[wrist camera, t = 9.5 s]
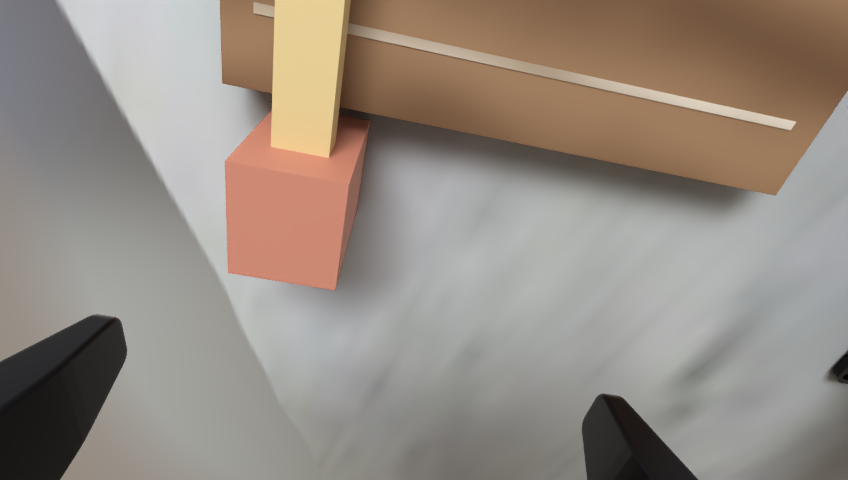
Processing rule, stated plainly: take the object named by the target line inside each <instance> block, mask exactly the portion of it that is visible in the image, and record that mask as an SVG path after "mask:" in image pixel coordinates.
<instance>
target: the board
mask: <svg viewBox="0 0 848 480" xmlns="http://www.w3.org/2000/svg"><path fill="white" fill-rule="evenodd" d="M274 15H275V0H220V19H221V54H222V83H223V84H228V85H233V86H238V87H243V88H248V89H253V90H258V91H263V92H267V93H272V85H273V50H274ZM847 91H848V0H351V3H350V12H349V22H348V31H347V40H346V50H345V59H344V69H343V78H342V87H341V97H340V106H339V107H341V108H346V109H351V110H356V111H361V112H366V113H371V114H376V115H381V116H386V117H391V118H396V119H401V120H406V121H411V122H416V123H420V124H425V125H430V126H435V127H440V128H445V129H450V130H455V131H460V132H465V133H470V134H475V135H480V136H485V137H490V138H494V139H499V140H504V141H509V142H514V143H519V144H524V145H529V146H534V147H539V148H544V149H549V150H554V151H559V152H564V153H569V154H573V155H578V156H583V157H588V158H593V159H598V160H603V161H608V162H613V163H618V164H623V165H628V166H633V167H638V168H643V169H647V170H652V171H657V172H662V173H667V174H672V175H677V176H682V177H687V178H692V179H697V180H702V181H707V182H712V183H717V184H721V185H726V186H731V187H736V188H741V189H746V190H751V191H756V192H761V193H766V194H771V195H776V194H777V192H778V191H779V189H780V188H781V187H782V185H783V184H784V182H785V181H786V179H787V178H788V176H789V175H790V173H791V172H792V171H793V169H794V168H795V166H796V165H797V163H798V162H799V160H800V159H801V157H802V156H803V155H804V153H805V152H806V150H807V149H808V147H809V146H810V144H811V143H812V141H813V140H814V139H815V137H816V136H817V134H818V133H819V131H820V130H821V128H822V127H823V125H824V124H825V123H826V121H827V120H828V118H829V117H830V115H831V114H832V112H833V111H834V109H835V108H836V107H837V105H838V104H839V102H840V101H841V99H842V98H843V96H844V95H845V93H846V92H847Z"/></svg>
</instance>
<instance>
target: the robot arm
mask: <svg viewBox="0 0 848 480" xmlns="http://www.w3.org/2000/svg"><path fill="white" fill-rule="evenodd" d="M126 355H127V346H126V342H125V337H124V332H123V327H122V323H121V321H120V320H119V319H118V318H116V317H111V316H105V315H97V314H96V315H92V316H89V317H87V318H85V319H83V320H81V321H79V322H77V323H75V324H73V325H71V326H69V327H67V328H65V329H63V330H61V331H59V332H57V333H55V334H53V335H52V336H50V337H48V338H46V339H44V340H42V341H40V342H38V343H36V344H34V345H32V346H30V347H28V348H26V349H24V350H22V351H20V352H18V353H16V354H14V355H12V356H10V357H8V358H6V359H4V360H2V361H1V362H0V480H60V479H61V478H62V476H63V474H64V473H65V471H66V470H67V468H68V467H69V465H70V463H71V462H72V460H73V459H74V457H75V455H76V454H77V452H78V451H79V449H80V448H81V446H82V444H83V443H84V441H85V439H86V437H87V435H88V433H89V432H90V430H91V428H92V426H93V424H94V422H95V420H96V418H97V416H98V414H99V412H100V410H101V408H102V406H103V404H104V402H105V400H106V398H107V396H108V394H109V392H110V390H111V388H112V386H113V384H114V382H115V380H116V378H117V376H118V374H119V372H120V370H121V368H122V366H123V364H124V362H125V359H126ZM832 374H833V376H834V377H835V378H836V379H837V380H838V381H839V382H841V383H846V384H848V356H847V357H846V358H845V359H844V360H843V361H842V362H841V363H840V364H839V365H838V366H837V367H836V368H835V369H834V370H833V372H832ZM582 435H583V444H584V453H585V463H586V472H587V480H698V479H697V478H696V477H695V476H694V475H693V473H692V472H691V471H690V470H689V469H688V468H687V467H686V466H685V465H684V464H683V463H682V461H681V460H680V459H679V458H678V457H677V456H676V455H675V454H674V453H673V452H672V451H671V449H670V448H669V447H668V446H667V445H666V444H665V443H664V442H663V441H662V440H661V439H660V438H659V436H658V435H657V434H656V433H655V432H654V431H653V430H652V429H651V428H650V427H649V426H648V424H647V423H646V422H645V421H644V420H643V419H642V418H641V417H640V416H639V415H638V414H637V412H636V411H635V410H634V409H633V408H632V407H631V406H630V405H629V404H628V403H627V402H626V400H624V399H623V398H622V397H620V396H617V395H610V394H604V393H603V394H600V395H598V396H597V397H596V399H595V401H594V402H593V404H592V406H591V407H590V409H589V411H588V412H587V414H586V416H585V417H584V420H583V424H582Z"/></svg>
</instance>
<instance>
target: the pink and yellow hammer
mask: <svg viewBox="0 0 848 480" xmlns="http://www.w3.org/2000/svg"><path fill="white" fill-rule="evenodd" d="M350 3H351V0H275V15H274V50H273V85H272V110H271V111H270V112H269V113H268V114H267V115H266V116H265V118H264V119H263V120H262V121H261V122H260V123H259V124H258V125H257V126H256V127H255V129H254V130H253V131H252V132H251V133H250V134H249V135H248V136H247V137H246V138H245V140H244V141H243V142H242V143H241V144H240V145H239V146H238V147H237V148H236V150H235V151H234V152H233V153H232V154H231V155H230V156H229V157H228V158H227V159H226V161H225V181H226V217H227V253H228V273H232V274H238V275H244V276H250V277H256V278H262V279H268V280H275V281H281V282H287V283H293V284H299V285H305V286H311V287H317V288H323V289H329V290H336V286H337V282H338V278H339V275H340V271H341V267H342V264H343V260H344V256H345V252H346V249H347V245H348V241H349V238H350V234H351V230H352V226H353V223H354V219H355V215H356V212H357V206H358V199H359V192H360V186H361V179H362V172H363V165H364V158H365V151H366V144H367V137H368V130H369V123H370V121H368V120H363V119H358V118H353V117H348V116H343V115H339V106H340V97H341V87H342V78H343V69H344V59H345V50H346V40H347V31H348V22H349V12H350Z"/></svg>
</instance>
